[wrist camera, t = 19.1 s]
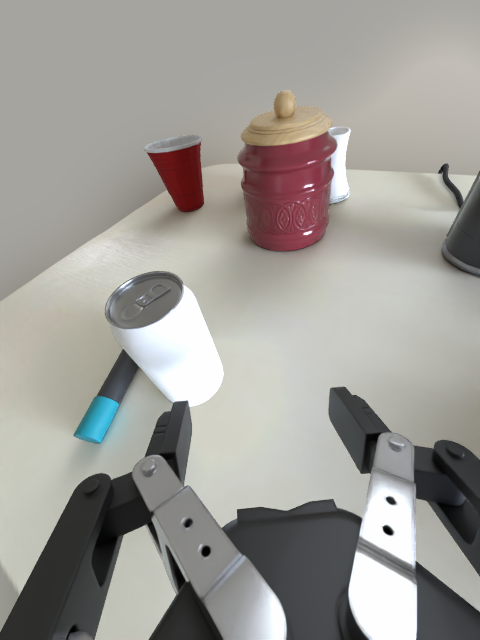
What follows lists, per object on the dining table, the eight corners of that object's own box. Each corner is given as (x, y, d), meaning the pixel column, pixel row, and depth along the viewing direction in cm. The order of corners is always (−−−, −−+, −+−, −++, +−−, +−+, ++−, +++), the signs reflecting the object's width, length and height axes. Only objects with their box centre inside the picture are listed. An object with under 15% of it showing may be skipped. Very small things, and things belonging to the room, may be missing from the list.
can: (152, 384, 27) (82, 307, 18) (195, 343, 30) (154, 258, 21) (192, 422, 23) (130, 350, 15) (236, 371, 26) (208, 285, 17)
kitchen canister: (291, 264, 36) (290, 107, 23) (233, 236, 44) (207, 105, 30) (344, 223, 41) (369, 73, 28) (283, 204, 48) (280, 78, 35)
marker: (153, 325, 33) (138, 314, 32) (164, 319, 32) (148, 308, 31) (93, 443, 24) (69, 435, 23) (105, 443, 23) (79, 434, 21)
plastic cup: (224, 194, 56) (211, 128, 47) (200, 219, 50) (180, 148, 41) (184, 192, 60) (165, 131, 51) (157, 215, 54) (130, 151, 45)
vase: (299, 195, 50) (300, 134, 42) (329, 182, 51) (336, 121, 44) (325, 208, 45) (332, 142, 37) (358, 193, 47) (370, 127, 39)
